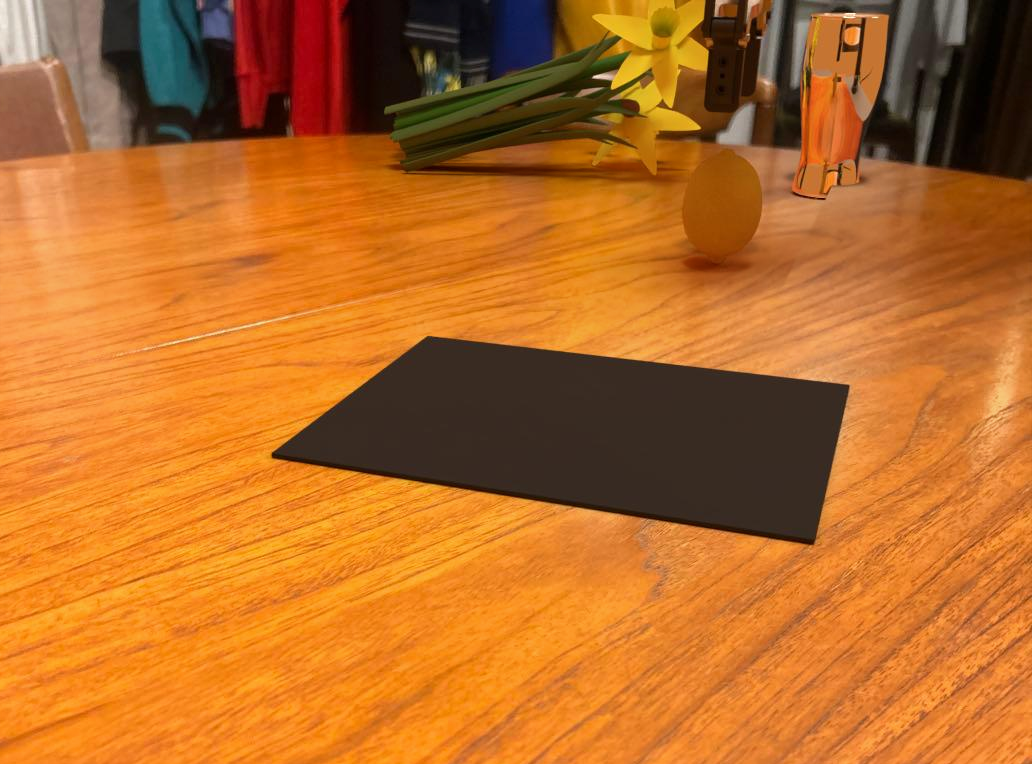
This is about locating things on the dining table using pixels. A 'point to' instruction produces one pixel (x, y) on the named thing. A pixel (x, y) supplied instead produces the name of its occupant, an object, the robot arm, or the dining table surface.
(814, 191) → the beer glass
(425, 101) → the daffodil flowers
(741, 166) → the lemon
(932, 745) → the dining table surface
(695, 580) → the dining table surface
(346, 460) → the felt mat
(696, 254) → the dining table surface
